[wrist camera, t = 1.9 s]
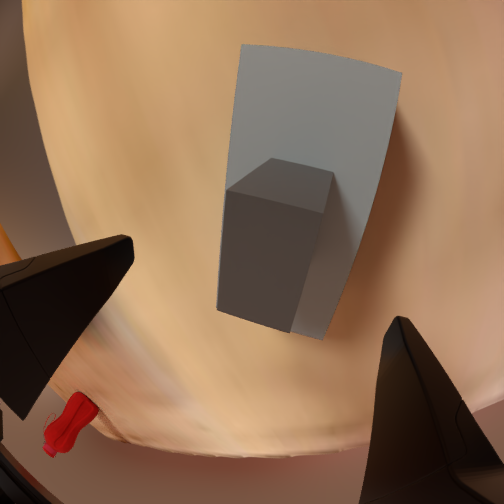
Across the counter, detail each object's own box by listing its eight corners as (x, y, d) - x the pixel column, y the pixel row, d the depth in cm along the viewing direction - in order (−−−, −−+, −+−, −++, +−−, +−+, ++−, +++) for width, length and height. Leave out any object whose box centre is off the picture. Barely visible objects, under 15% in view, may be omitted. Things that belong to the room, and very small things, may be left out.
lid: (324, 330, 18) (306, 411, 13) (221, 299, 20) (177, 367, 15) (398, 75, 10) (437, 51, 5) (248, 47, 12) (179, 17, 6)
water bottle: (76, 385, 65) (32, 441, 45) (103, 410, 68) (62, 466, 47) (70, 386, 70) (29, 437, 50) (94, 409, 73) (56, 460, 52)
